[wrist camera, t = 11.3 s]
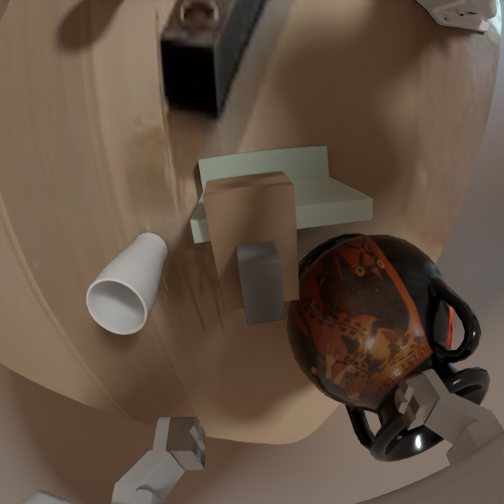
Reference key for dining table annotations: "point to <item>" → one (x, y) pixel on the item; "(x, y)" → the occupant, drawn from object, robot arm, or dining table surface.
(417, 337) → the amphora vase
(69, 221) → the dining table surface
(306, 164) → the board
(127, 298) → the drinking glass
